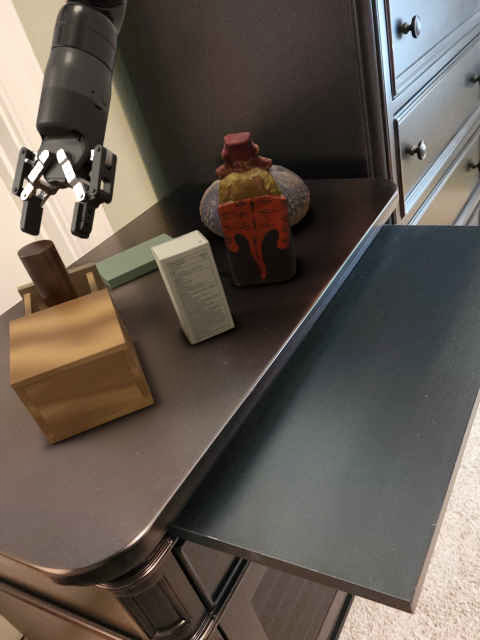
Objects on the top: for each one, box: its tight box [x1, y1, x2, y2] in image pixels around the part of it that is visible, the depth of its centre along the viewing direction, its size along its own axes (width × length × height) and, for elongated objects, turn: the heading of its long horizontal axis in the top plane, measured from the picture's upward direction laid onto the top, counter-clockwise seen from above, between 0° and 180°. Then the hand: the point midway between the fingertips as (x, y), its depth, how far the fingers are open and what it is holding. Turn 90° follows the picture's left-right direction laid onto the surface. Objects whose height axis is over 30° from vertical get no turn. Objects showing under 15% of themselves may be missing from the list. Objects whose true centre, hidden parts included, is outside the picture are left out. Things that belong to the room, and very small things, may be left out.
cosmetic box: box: [151, 229, 235, 345], centre depth 64 cm, size 6×4×12 cm
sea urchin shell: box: [199, 164, 311, 239], centre depth 89 cm, size 19×19×10 cm
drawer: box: [16, 261, 107, 316], centre depth 70 cm, size 17×10×7 cm, turn 24°
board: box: [95, 233, 174, 290], centre depth 86 cm, size 14×8×2 cm, turn 128°
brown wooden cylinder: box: [16, 239, 80, 308], centre depth 65 cm, size 4×4×12 cm
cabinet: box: [9, 287, 155, 445], centre depth 60 cm, size 14×12×9 cm
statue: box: [214, 131, 297, 287], centre depth 71 cm, size 12×8×20 cm, turn 86°
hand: (53, 235), depth 64 cm, fingers open, 8 cm apart
